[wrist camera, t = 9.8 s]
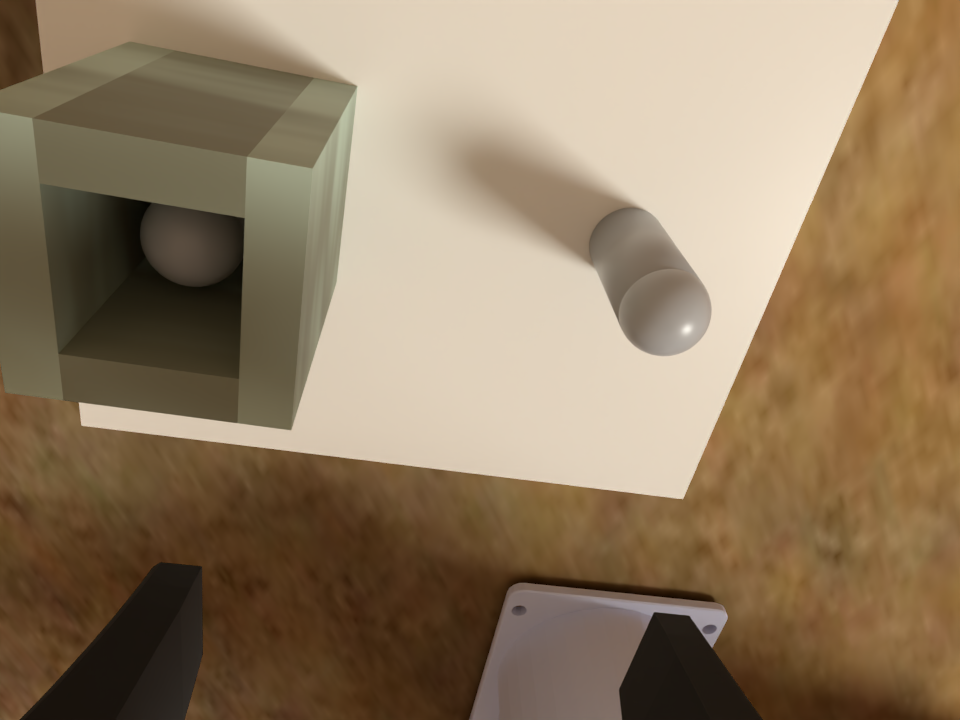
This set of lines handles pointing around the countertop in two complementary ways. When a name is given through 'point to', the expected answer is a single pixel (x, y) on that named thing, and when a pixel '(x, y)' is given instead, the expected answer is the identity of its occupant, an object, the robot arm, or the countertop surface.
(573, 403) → the jig board
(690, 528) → the countertop surface
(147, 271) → the square socket block
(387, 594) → the countertop surface
